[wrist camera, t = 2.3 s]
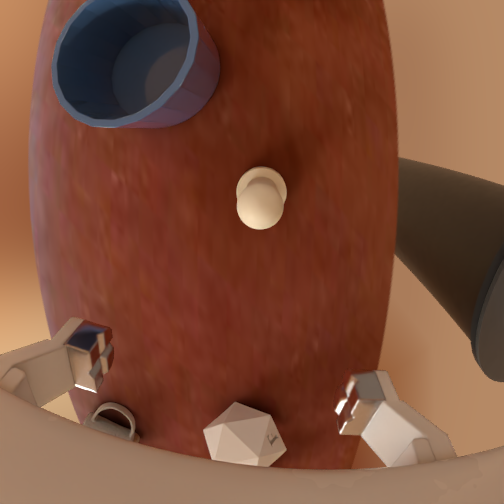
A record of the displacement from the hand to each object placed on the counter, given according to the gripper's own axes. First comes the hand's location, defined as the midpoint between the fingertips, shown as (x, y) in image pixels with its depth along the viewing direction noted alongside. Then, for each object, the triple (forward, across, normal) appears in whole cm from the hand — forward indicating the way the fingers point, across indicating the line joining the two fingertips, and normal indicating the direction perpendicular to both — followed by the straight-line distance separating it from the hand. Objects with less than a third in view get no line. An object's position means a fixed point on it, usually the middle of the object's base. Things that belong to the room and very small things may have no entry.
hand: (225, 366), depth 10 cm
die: (+19, -4, +24) cm, 31 cm away
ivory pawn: (+18, 0, -3) cm, 19 cm away
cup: (+18, +10, -12) cm, 24 cm away
